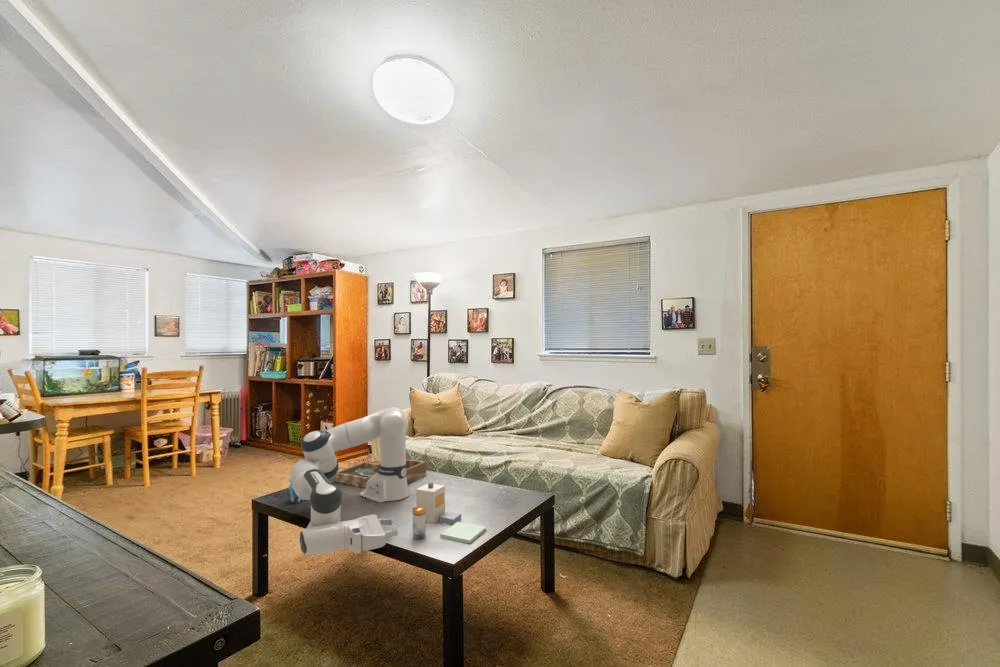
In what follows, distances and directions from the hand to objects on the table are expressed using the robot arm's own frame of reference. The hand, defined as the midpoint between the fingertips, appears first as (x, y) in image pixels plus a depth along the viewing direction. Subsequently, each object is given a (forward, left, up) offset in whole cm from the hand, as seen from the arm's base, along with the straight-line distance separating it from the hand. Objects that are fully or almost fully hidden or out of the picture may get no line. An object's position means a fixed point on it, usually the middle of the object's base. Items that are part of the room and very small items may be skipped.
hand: (394, 526), depth 157 cm
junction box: (-1, +23, -5) cm, 23 cm away
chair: (-65, +15, -6) cm, 67 cm away
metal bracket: (-60, +53, -6) cm, 80 cm away
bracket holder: (-41, +59, -5) cm, 72 cm away
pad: (+18, +16, -5) cm, 25 cm away
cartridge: (+5, +7, -5) cm, 10 cm away
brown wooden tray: (-60, +51, -5) cm, 79 cm away
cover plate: (+8, +24, -6) cm, 26 cm away
